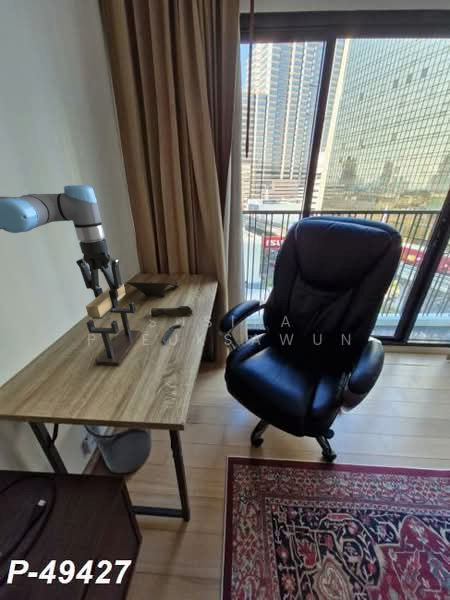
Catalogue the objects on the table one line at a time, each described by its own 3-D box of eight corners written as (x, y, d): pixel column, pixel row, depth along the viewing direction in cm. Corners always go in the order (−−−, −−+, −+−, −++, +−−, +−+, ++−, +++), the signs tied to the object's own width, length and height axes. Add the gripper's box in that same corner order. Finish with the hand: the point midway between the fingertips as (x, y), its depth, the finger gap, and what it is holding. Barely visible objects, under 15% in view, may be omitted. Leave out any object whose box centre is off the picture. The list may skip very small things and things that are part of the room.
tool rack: (94, 364, 88) (82, 326, 81) (120, 332, 106) (112, 298, 99) (121, 365, 87) (110, 327, 80) (142, 333, 105) (136, 299, 98)
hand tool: (151, 318, 117) (149, 309, 114) (153, 313, 120) (152, 305, 118) (191, 318, 116) (190, 309, 114) (192, 313, 120) (192, 305, 117)
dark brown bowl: (182, 297, 149) (182, 282, 149) (169, 297, 126) (170, 279, 126) (144, 296, 151) (145, 281, 151) (126, 295, 128) (126, 278, 128)
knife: (173, 324, 110) (172, 323, 110) (181, 325, 110) (181, 324, 109) (159, 343, 98) (159, 342, 98) (169, 344, 97) (168, 343, 97)
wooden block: (89, 320, 80) (85, 306, 78) (116, 295, 96) (113, 283, 94) (101, 320, 80) (97, 306, 78) (126, 296, 96) (123, 284, 94)
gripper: (124, 237, 80) (137, 302, 91) (73, 237, 82) (92, 301, 92) (112, 242, 73) (128, 312, 84) (58, 242, 75) (80, 311, 85)
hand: (109, 306), depth 88 cm, fingers closed on wooden block, 4 cm apart
